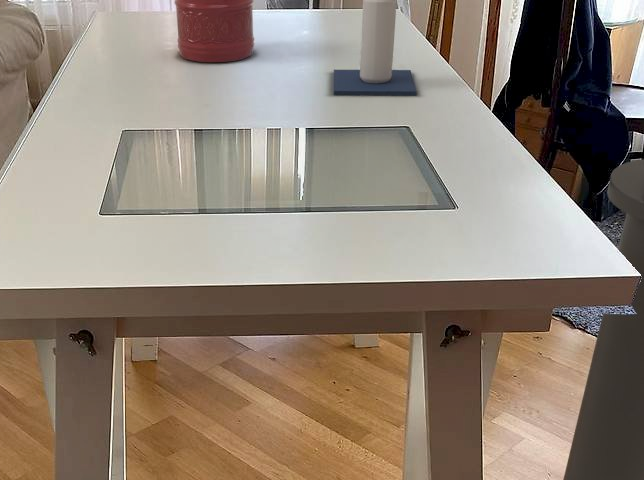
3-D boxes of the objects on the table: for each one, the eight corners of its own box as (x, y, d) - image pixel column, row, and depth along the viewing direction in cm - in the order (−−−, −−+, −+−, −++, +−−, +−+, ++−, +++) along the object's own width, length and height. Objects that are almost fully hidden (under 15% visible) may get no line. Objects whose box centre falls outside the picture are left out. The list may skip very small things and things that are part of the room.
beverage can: (373, 74, 130) (378, -11, 123) (398, 79, 127) (404, -7, 120) (352, 80, 127) (356, -7, 120) (377, 86, 124) (382, -2, 117)
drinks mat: (410, 73, 132) (410, 69, 132) (416, 95, 122) (416, 91, 122) (333, 73, 132) (333, 69, 132) (333, 94, 123) (333, 90, 122)
